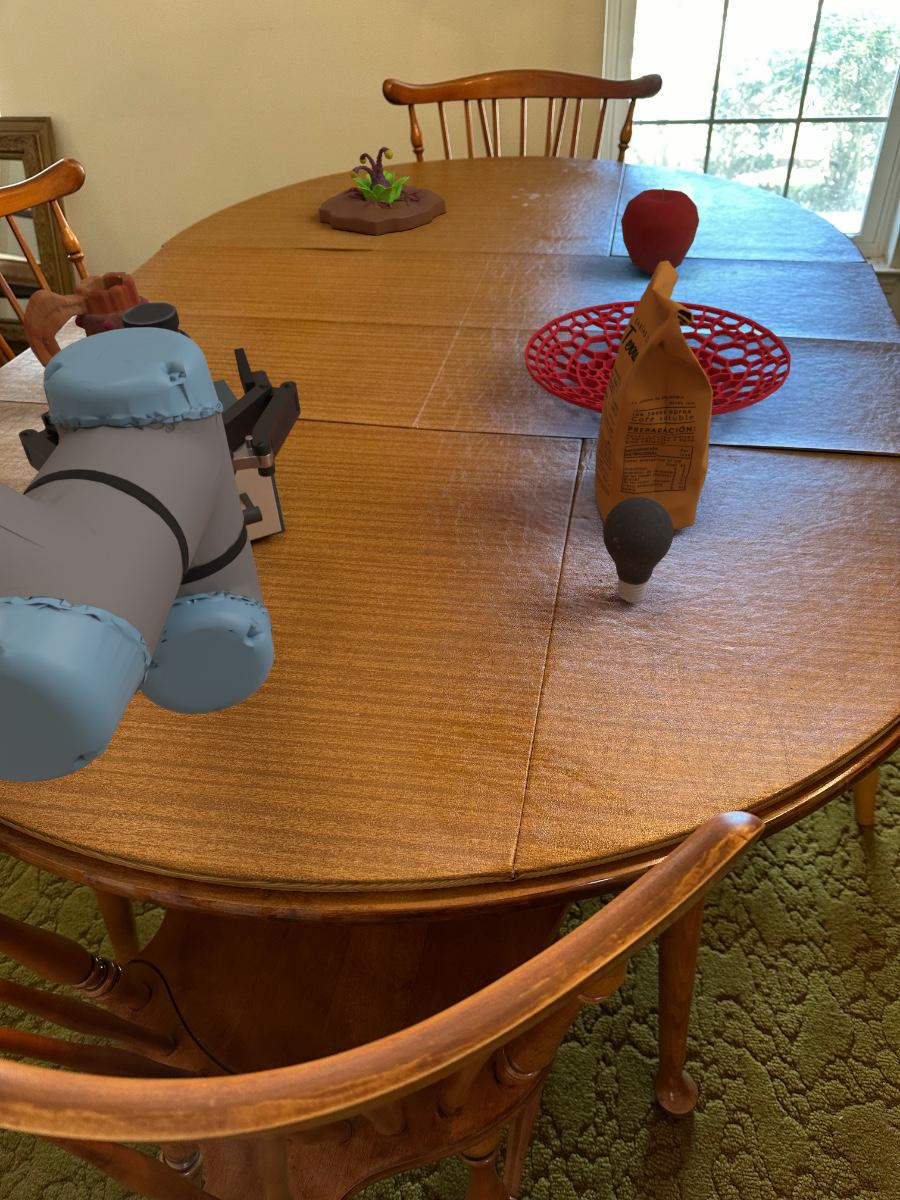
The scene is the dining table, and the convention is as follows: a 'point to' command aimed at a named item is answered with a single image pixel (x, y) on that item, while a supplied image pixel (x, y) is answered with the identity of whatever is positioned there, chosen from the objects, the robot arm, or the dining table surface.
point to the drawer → (257, 503)
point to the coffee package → (655, 411)
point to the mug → (79, 311)
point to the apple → (659, 228)
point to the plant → (380, 202)
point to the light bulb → (637, 543)
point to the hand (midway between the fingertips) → (157, 378)
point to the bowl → (726, 400)
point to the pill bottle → (153, 317)
